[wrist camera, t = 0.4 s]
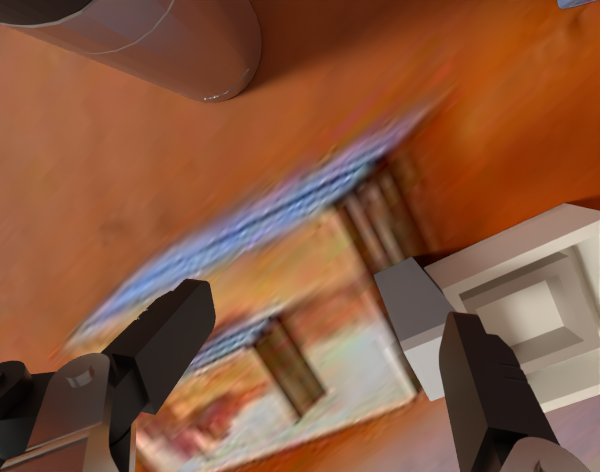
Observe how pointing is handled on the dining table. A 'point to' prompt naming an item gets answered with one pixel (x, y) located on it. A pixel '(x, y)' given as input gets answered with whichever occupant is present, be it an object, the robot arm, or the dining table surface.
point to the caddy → (537, 298)
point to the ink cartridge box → (572, 3)
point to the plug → (416, 319)
